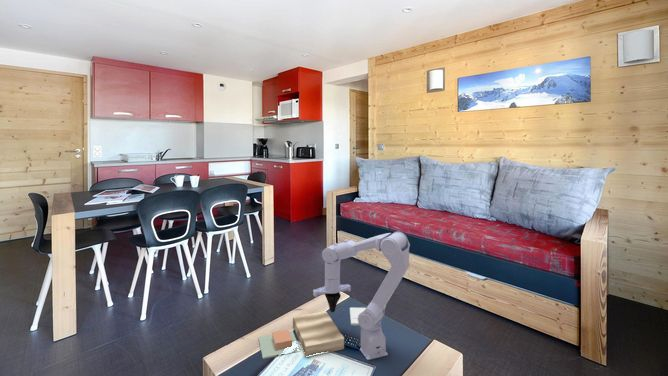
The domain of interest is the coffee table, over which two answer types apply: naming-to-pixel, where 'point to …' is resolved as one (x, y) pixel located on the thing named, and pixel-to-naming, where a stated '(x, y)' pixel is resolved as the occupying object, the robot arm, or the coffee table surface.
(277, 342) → the tile
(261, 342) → the mat
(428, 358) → the coffee table surface
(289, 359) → the coffee table surface
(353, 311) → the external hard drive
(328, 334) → the wavy block
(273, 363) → the coffee table surface
